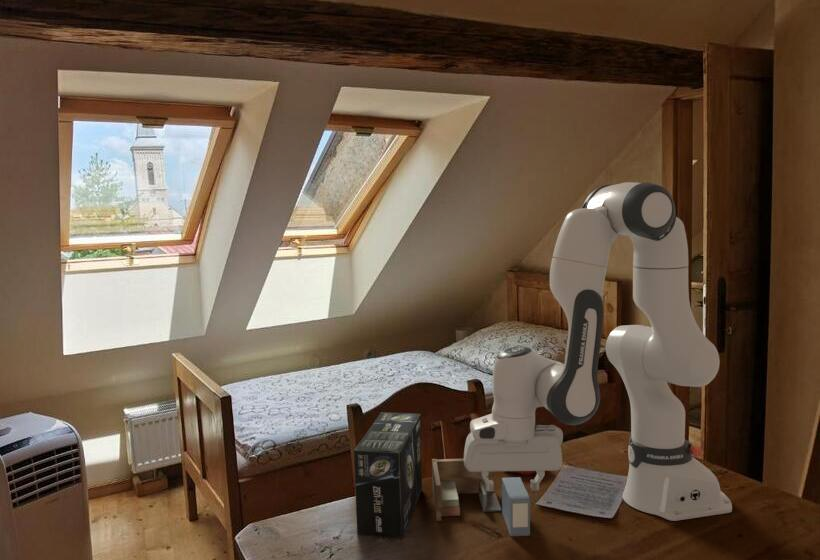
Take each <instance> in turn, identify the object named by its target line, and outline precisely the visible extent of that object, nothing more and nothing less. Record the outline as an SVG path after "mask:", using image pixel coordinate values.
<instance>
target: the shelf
mask: <svg viewBox="0 0 820 560" xmlns="http://www.w3.org/2000/svg"><path fill="white" fill-rule="evenodd" d="M431 471H432V473H431V475H432V477H431V478H432V480H431V481H432V483H431V484H432V496H433V505H434V509H435V518H436V521H437V522H441V521H442V517H452V516H453V517H457V516H461V507H460V501H459V494H460V495H461V494H479V479H482V482H483V485H484V488H485V491H486V482H485V481H484V479H483V477H482V475H481V472H469V471H468V470H467V469H466V468H465V466H464V458H443V459H442V458H441V459H437V458H431ZM493 473H494V471H489V475H488V476H487V478H488V480H493V481H494V474H493ZM486 493H494V491H486Z"/></svg>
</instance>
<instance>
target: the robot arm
mask: <svg viewBox="0 0 820 560" xmlns="http://www.w3.org/2000/svg"><path fill="white" fill-rule="evenodd" d="M685 228H686V227H685V225H684V222H683V221H682V219H680V218H679V217H677V213H676V205H675V201H674V199H673V196H672V195H671V193H670V192H669V190H668V189H667V188H665V187H664V186H662V185H660V184H658V183H657V184H656V183H652V182H634V181H633V182H632V181H631V182H630V181H628V182H627V181H626V182H621V183H616V184H606V185H602V186H599V187H597V188H595V189H593V191H591V192H590V193H589V194H588V195H587V197H586V198H585V200H584V202H583V205H582V206H581V207H580V208H576V209H573V210H571V211H570V212H568V213H567V214H566V216H565V218H564V220H563V223H562V224H561V227H560V230H559V233H558V235H557V239H556V242H555V245H554V249H553V254H552V258H551V263H550V269H549V289H550V292H551V293H552V295H553V297H554V299H555V300H556V301H557V302H558V304H559V305H560V307H561V308H562V311H563V312H564V314H565V317H566V319H567V325H568V332H567V340H566V347H565V348H566V349H565V357H564V363H562V362H560V361H558V360H554V359H550V358H547V357H545V356H543V355H541V354H539V353H537V352H535V351H534V350H533V349H532V348H531V347H527V346H512V347H507V348H505V349H503V350H502V351H500V352H498V353H497V354H496V357H495V359H494V363H493V370H492V379H491V380H492V383H491V386H492V387H491V389H492V390H491V391H492V396H493V404H492V408H491V413H489V414H486V415H484V416H481V417H477V418H474V419H472V420H470V423H469V429H470V432H469V433H468V435H467V437H466V439H465V444H464V450H463V459H464V466H465V468H466V469H467V470H468V471H469V472H481V475H482V477H483V479H484V481H485V482H486V491H493V492H494V491H495V490H494V487H495V482H494V479H493V480H488V478H487V476H488V475H489V471H493V472H511V471H536V472H537V473H536V474H535V477H534V479H533V478H532V479H530V482H529V483H530V486H529V488H530V491H539V490H540V483H541V481H542V480H543V479H544V477H545V476H546V474H545V472H547V471H549V472H550V471H551V472H552V471H559V470H560V469H561V468H562V466H563V455H562V453H563V452H562V446H561V445H562V443H563V441H564V440H563V439H564V432H563V431H562V429H561V428H560V427H558V426H556V425H554V424H550V425H544V424H543V425H542V424H536V410H537V408H545V409H546V410H548V412H550V413H551V415H552V416H553V417H554V418H555V419H557V421H558V422H560V423H562V425H563V424H564V425H567V426H577V425H581V424H583V423H585V422H588V421H589V420H590V419H591V418H592V417H593V416H594V415H595V414H596V412H597V411H598V409H599V407H600V405H601V389H600V385H599V377H598V373H599V372H598V371H599V370H598V369H599V362H600V353H601V344H602V343H601V342H602V336H603V334H602V333H603V328H604V327H603V324H604V290H605V289H604V287H605V279H606V274H607V268H608V263H609V260H610V259H609V258H610V251H611V248H612V246H613V244H614V243H615V241H616V240H617V238H619V237H622V238H623V237H625V238H626V237H629V239H630V241H631V243H632V247H633V255H632V259H633V260H632V300H633V302H634V304H635V306H636V307H637V308H638V309H639V310H640V311H642V312H643V314H644V315H645V316H646V317H647V319H648V322H649V323H650V325H651V326H646V325H642V324H629V325H628V324H627V325H625V324H624V325H618V326H616V327H615V328H614V329H612V331H611V332H610V333H609V335H608V336H607V339H606V343H605V353H606V357H607V359H608V361H609V362H610V363H611V364H612V365H613V366H614V368H615V369H616V370H617V372H618V373H619V375H620V377H621V379H622V381H623V383H624V386H625V389H626V391H627V395H628V398H629V403H630V404H629V405H630V421H631V422H630V424H631V427H630V431H631V433H630V436H629V438H628V441H629V442H628V447H627V448H628V449H627V451H628V454H627V455H628V462H629V465H628V473H627V478H626V483H625V486H624V490H623V493H622V499H623V501H624V502H625V504H627V505H628V506H630V507H632V508H633V509H636V510H637V511H641V512H644V513H647V514H651V515H655V516H658V517H660V518H663V519H665V520H668V521H673V522H675V521H676V522H677V521H682V520H683V521H685V520H690V519H696V518H703V517H709V516H710V517H711V516H716V515H723V514H729V513H732V511H733V503H732V501H731V500H730V498H729V497H728V496H727V495H726V494H725V493H724V492H723V491H721V487H720V483H719V480H718V478H717V477H716V475H715V474H714V472H713V471H711V470H710V469H709V468H708V467H707V466H705V465H704V464H703V463H701V462H700V461H699V460H697V459H696V458H700V457H701V455H703V454H702V453H703V450H702V449H701V448H699V447H698V446H697V445H693V444H692V443H691V442H690V441H689V440H687V439H685V436H686V409H685V407H684V404H683V403H682V401H681V400H680V398H678V397H677V396H676V395H675V394H674V393H673V391H672V389H671V388H670V387H669V385H668V384H669V383H670V384H673V385H676V386H679V387H680V386H681V387H697V388H698V387H699V388H701V387H705V386H707V385H708V384H710V383H711V382H712V381H713V380H714V379H715V378H716V375H718V372H719V370H720V355H719V354H720V353H719V352H718V349H717V347H716V346H715V344H714V343H713V342H712V341H710V339H708V338H707V337H706V335H705V334H704V333H703V332H702V330H701V329H700V326H699V325H698V323H697V321H696V319H695V317H694V313H693V311H692V307H691V302H690V291H689V245H688V239H687V233H686V229H685ZM693 456H694V457H693ZM695 457H696V458H695Z"/></svg>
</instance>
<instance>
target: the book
mask: <svg viewBox="0 0 820 560" xmlns="http://www.w3.org/2000/svg"><path fill="white" fill-rule="evenodd" d="M501 512H502V516H503V519H504V522H505V524H506V527H507V530H508V533H509V536H510V537H522V536H523V537H524V536H525V537H526V536H531V498H530V496H529V493H528V491H527V489H526V487H525V485H524V482H523V481H522V477H520V476H519V477H518V476H517V477H511V476H510V477H501Z"/></svg>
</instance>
